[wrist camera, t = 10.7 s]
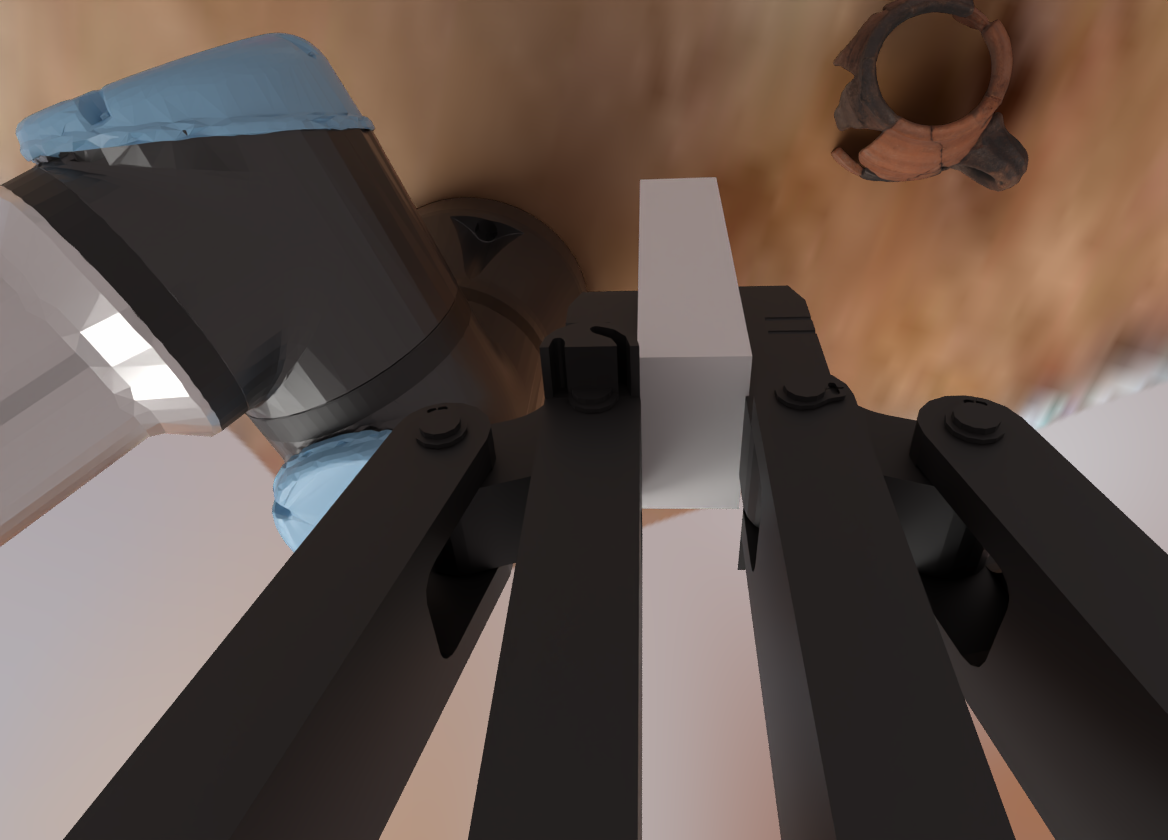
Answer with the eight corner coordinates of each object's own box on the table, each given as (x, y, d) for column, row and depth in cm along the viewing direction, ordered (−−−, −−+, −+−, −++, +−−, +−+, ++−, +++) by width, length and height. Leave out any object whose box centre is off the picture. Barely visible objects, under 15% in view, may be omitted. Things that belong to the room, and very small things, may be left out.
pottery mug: (779, 145, 47) (808, 106, 39) (865, 1, 46) (915, -71, 37) (950, 247, 47) (1015, 229, 39) (1041, 105, 46) (1129, 56, 37)
